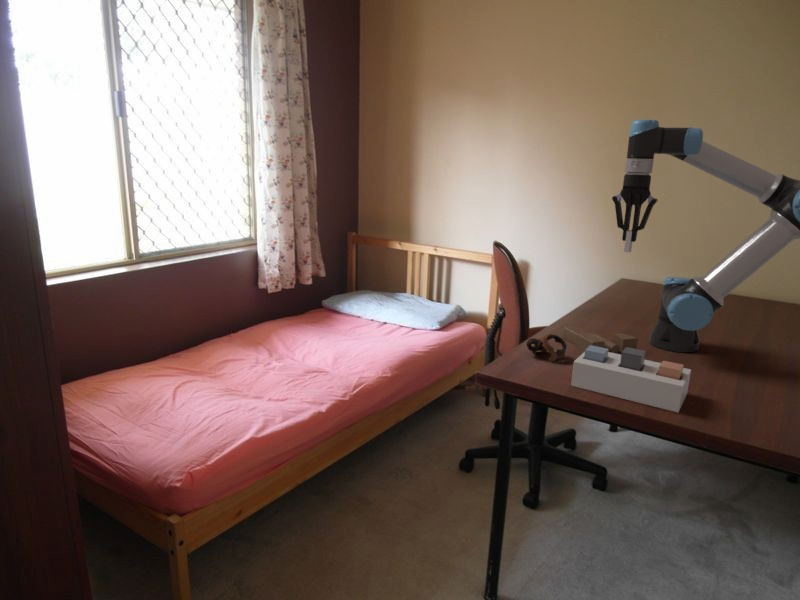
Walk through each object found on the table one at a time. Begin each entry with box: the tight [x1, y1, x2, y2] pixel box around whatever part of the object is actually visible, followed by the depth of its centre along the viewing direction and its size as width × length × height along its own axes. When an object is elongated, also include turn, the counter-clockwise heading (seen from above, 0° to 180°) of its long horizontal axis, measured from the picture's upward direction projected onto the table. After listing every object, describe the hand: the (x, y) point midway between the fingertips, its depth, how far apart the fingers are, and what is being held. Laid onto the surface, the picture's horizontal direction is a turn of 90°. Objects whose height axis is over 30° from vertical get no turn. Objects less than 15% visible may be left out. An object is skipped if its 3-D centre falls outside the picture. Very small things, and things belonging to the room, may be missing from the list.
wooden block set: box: [562, 326, 639, 354], centre depth 189 cm, size 17×6×18 cm
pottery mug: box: [526, 333, 567, 363], centre depth 176 cm, size 12×10×8 cm
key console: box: [570, 351, 692, 413], centre depth 153 cm, size 27×14×7 cm, turn 56°
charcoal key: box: [620, 347, 647, 371], centre depth 152 cm, size 5×5×5 cm
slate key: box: [584, 345, 609, 363], centre depth 158 cm, size 5×5×5 cm
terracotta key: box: [658, 360, 685, 380], centre depth 147 cm, size 5×5×5 cm
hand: (627, 251), depth 176 cm, fingers closed
